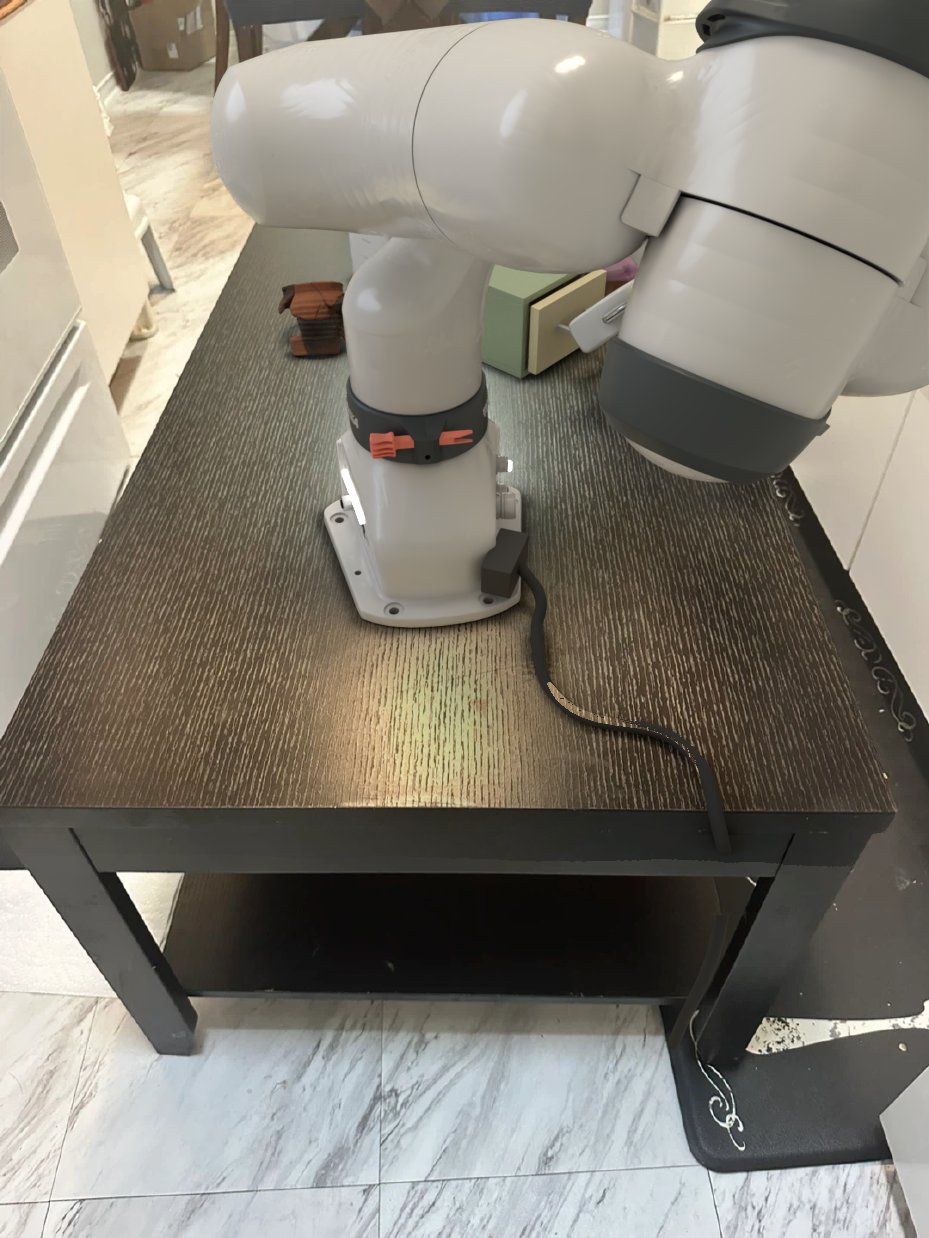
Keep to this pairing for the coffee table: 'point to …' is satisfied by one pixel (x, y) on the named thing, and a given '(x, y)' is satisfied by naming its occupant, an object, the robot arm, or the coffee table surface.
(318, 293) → the pottery mug
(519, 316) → the cabinet
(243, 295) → the coffee table surface
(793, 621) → the coffee table surface
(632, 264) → the cupcake
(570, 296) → the drawer
